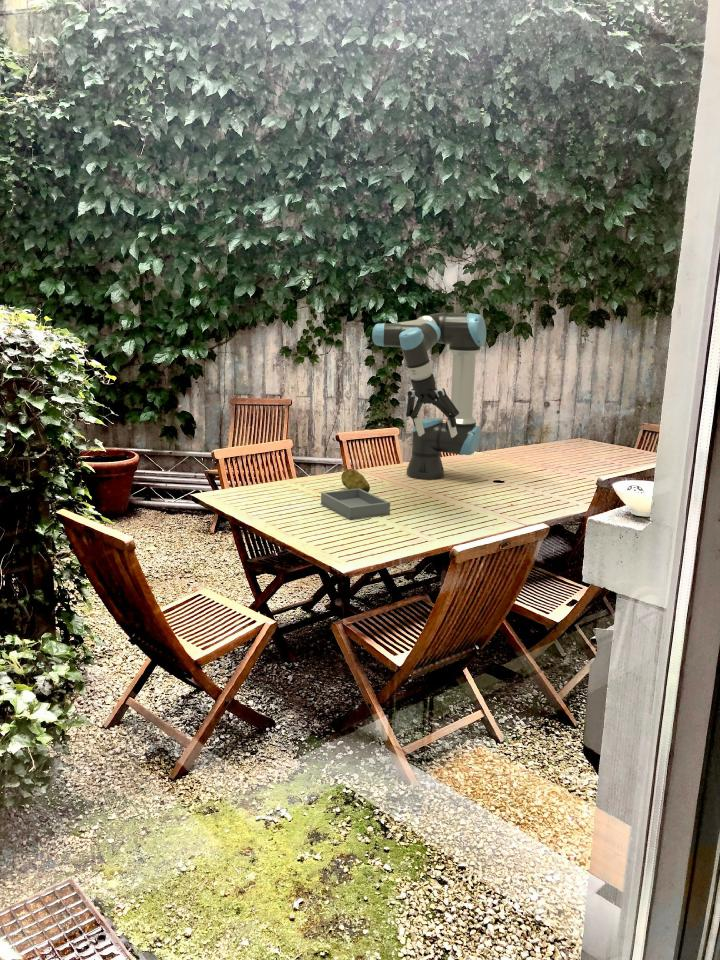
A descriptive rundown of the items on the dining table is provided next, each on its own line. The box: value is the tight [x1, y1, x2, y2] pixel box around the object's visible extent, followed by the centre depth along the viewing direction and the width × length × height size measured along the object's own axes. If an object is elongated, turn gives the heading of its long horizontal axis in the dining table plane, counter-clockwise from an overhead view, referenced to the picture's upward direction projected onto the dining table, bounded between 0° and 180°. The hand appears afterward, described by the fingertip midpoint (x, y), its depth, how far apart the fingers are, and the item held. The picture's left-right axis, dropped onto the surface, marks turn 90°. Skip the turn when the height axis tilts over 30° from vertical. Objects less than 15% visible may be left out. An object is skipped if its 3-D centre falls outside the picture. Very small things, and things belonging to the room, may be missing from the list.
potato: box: [340, 468, 371, 493], centre depth 256 cm, size 8×13×8 cm, turn 20°
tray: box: [320, 488, 391, 521], centre depth 235 cm, size 20×15×4 cm
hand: (437, 435), depth 236 cm, fingers open, 13 cm apart
